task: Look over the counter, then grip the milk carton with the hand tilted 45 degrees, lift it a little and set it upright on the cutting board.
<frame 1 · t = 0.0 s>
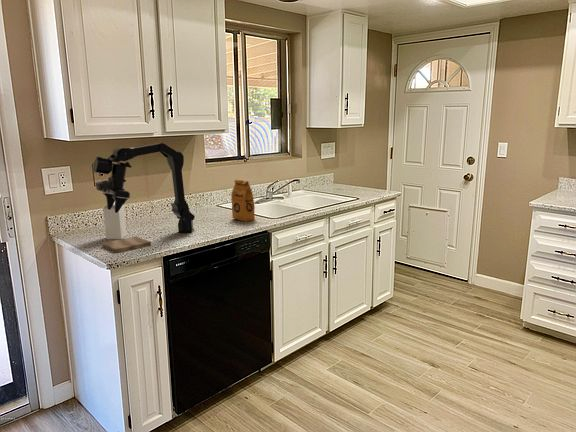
hand: (112, 211, 191), 15 cm above the worktop, tool pointing down, fingers open, 9 cm apart
coffee package: (243, 219, 240), on the worktop
milk carton: (116, 238, 207), on the worktop
cutting board: (126, 245, 193), on the worktop
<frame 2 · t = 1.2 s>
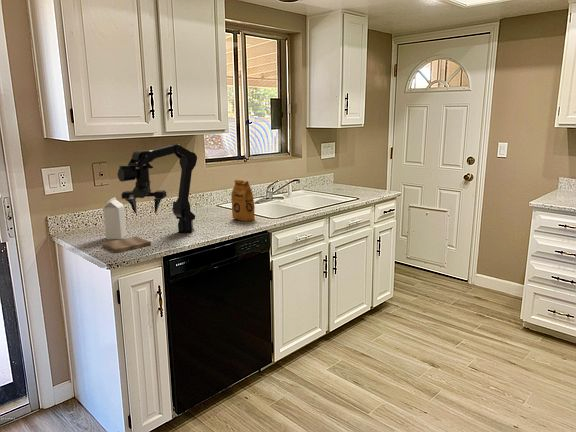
hand: (145, 213, 198), 13 cm above the worktop, tool pointing down, fingers open, 9 cm apart
nothing on the worktop moved.
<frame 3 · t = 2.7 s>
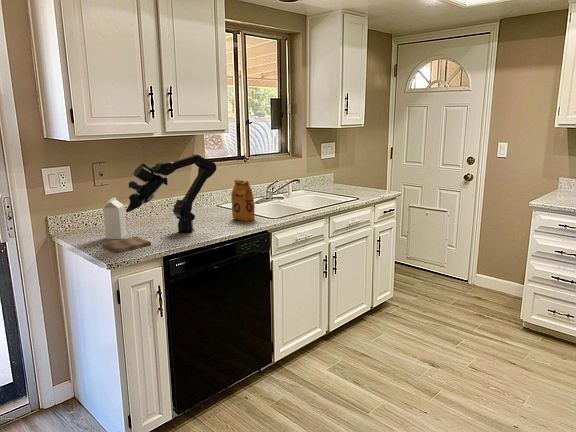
hand: (130, 209, 204), 13 cm above the worktop, tool tilted 45°, fingers open, 9 cm apart
nothing on the worktop moved.
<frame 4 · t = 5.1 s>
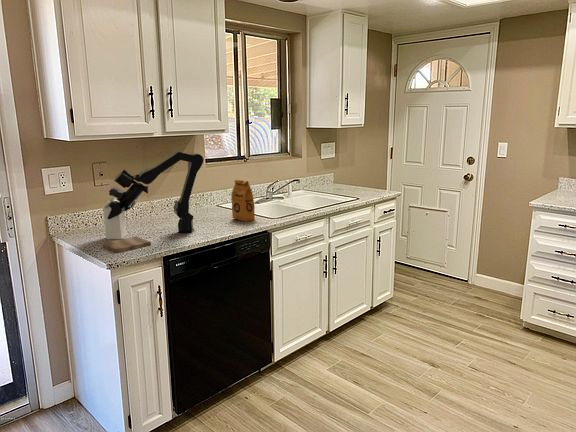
hand: (111, 216, 204), 10 cm above the worktop, tool tilted 45°, fingers closed on milk carton, 7 cm apart
milk carton: (116, 238, 207), on the worktop, touching gripper
everything else where it was.
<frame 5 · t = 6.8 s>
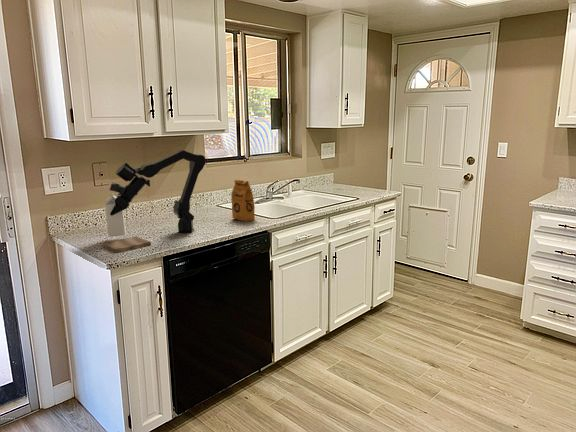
hand: (111, 213, 199), 13 cm above the worktop, tool tilted 45°, fingers closed on milk carton, 7 cm apart
milk carton: (117, 234, 202), point 3 cm above the worktop, touching gripper
everything else where it was.
when the fingers open (13 cm above the worktop, at t = 8.5 s): milk carton drops 1 cm, resting on cutting board.
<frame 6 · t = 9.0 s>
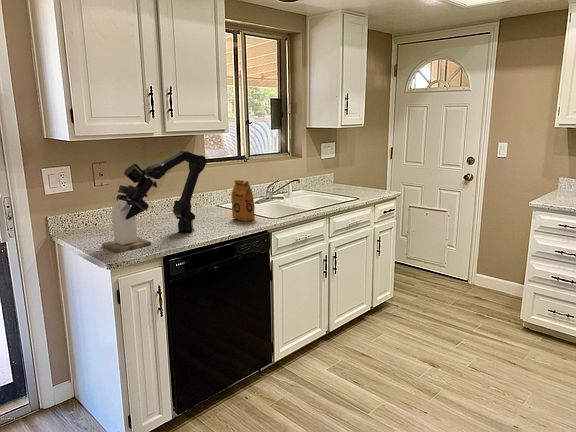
hand: (120, 217, 189), 13 cm above the worktop, tool tilted 45°, fingers open, 9 cm apart
milk carton: (126, 242, 193), point 1 cm above the worktop, touching cutting board
everything else where it was.
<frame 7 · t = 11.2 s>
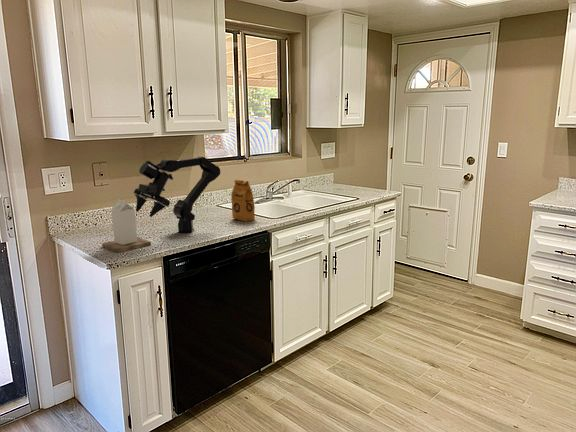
hand: (143, 214, 199), 12 cm above the worktop, tool tilted 35°, fingers open, 9 cm apart
nothing on the worktop moved.
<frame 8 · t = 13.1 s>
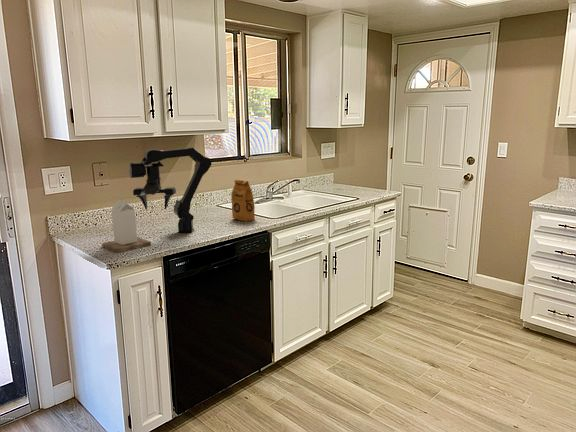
hand: (156, 209, 207), 13 cm above the worktop, tool pointing down, fingers open, 9 cm apart
nothing on the worktop moved.
at the end: milk carton inside the target area on the cutting board (0.4 cm from its centre), point 1.3 cm above the cutting board's base; milk carton tilted 0°; the gripper is holding nothing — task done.
